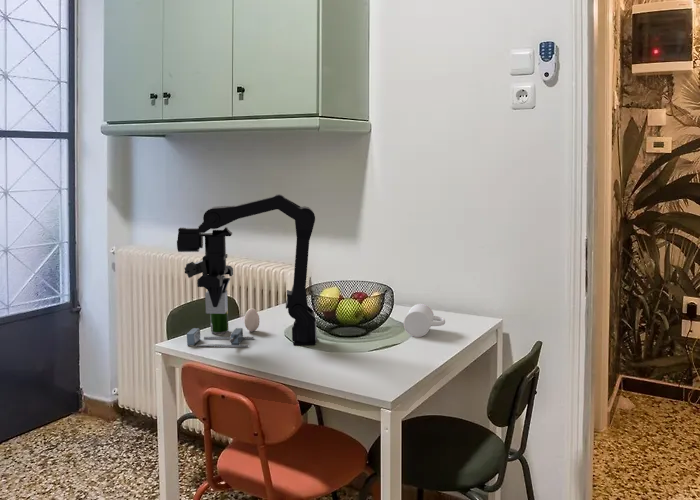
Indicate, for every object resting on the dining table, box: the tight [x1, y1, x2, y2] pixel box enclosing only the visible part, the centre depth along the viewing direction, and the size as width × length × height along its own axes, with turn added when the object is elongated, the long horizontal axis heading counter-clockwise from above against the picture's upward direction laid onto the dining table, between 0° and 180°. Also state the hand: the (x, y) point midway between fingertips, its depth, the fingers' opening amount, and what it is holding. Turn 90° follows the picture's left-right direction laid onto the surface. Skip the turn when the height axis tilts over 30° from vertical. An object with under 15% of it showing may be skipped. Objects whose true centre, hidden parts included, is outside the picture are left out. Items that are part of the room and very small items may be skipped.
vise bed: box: [186, 327, 255, 348], centre depth 190 cm, size 18×8×4 cm, turn 87°
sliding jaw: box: [229, 327, 244, 345], centre depth 188 cm, size 2×10×3 cm, turn 177°
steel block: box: [204, 290, 229, 315], centre depth 186 cm, size 4×6×6 cm, turn 89°
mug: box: [403, 303, 446, 338], centre depth 198 cm, size 12×10×8 cm
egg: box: [243, 307, 260, 333], centre depth 202 cm, size 5×5×7 cm
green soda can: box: [209, 310, 229, 335], centre depth 201 cm, size 5×5×12 cm
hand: (216, 305), depth 186 cm, fingers closed on steel block, 3 cm apart
